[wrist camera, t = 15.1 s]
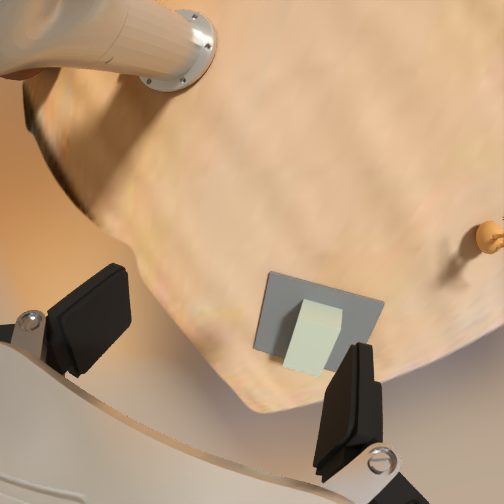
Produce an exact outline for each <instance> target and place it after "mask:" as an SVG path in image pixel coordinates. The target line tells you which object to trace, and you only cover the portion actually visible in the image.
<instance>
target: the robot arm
mask: <svg viewBox="0 0 504 504" xmlns="http://www.w3.org/2000/svg"><path fill="white" fill-rule="evenodd" d="M216 47H217V36H216V31H215V28H214V26H213V24H212V23H211V22H210V20H209V19H208V18H206V17H205V16H204V15H202V14H201V13H199V12H196V11H193V10H185V9H182V10H175V11H173V10H171V9H169V8H168V7H166V6H164V5H162V4H160V3H158V2H156V1H154V0H0V76H1V75H5V74H8V73H12V72H16V71H20V70H25V69H32V68H41V67H65V68H78V69H89V70H98V71H107V72H115V73H122V74H128V75H134V76H139V78H140V80H141V81H142V82H143V83H144V84H145V85H146V86H147V87H149V88H151V89H153V90H156V91H162V92H173V91H178V90H181V89H183V88H186V87H188V86H189V85H191V84H193V83H194V82H195V81H196V80H198V79H199V78H200V77H201V76H202V75H203V74H204V73H205V71H206V70H207V69H208V67H209V66H210V64H211V62H212V60H213V58H214V55H215V52H216ZM209 48H210V49H209ZM185 80H186V81H185ZM47 313H48V316H46V317H45V315H44V314H43V313H42V312H41V311H38V310H30V311H27V312H24V313H23V314H21V315H20V316H19V317H18V319H17V321H16V324H8V325H0V504H429V502H428V501H427V500H426V499H425V498H424V497H423V496H422V495H421V494H420V493H419V492H418V491H417V490H416V489H415V488H414V487H413V486H412V485H411V484H410V483H409V481H407V480H406V478H405V477H404V476H403V475H402V474H401V473H400V472H399V470H400V467H401V457H400V455H399V453H398V451H397V450H396V449H395V448H394V447H392V446H391V445H389V444H386V443H383V414H382V387H381V383H380V382H376V381H374V365H373V348H372V345H369V344H365V343H361V342H357V343H356V345H353V344H352V345H351V346H350V347H349V349H348V351H347V353H346V355H345V357H344V359H343V360H342V362H341V364H340V366H339V368H338V369H337V371H336V373H335V375H334V377H333V378H332V380H331V382H330V383H329V385H328V387H327V389H326V392H325V396H324V403H323V410H322V417H321V422H320V429H319V435H318V440H317V445H316V451H315V456H314V461H313V467H316V468H317V470H316V475H321V476H322V483H323V484H322V485H321V486H316V485H312V484H310V483H306V482H302V481H298V480H294V479H290V478H287V477H283V476H279V475H275V474H272V473H268V472H264V471H261V470H257V469H254V468H250V467H248V466H244V465H241V464H238V463H235V462H232V461H229V460H226V459H223V458H220V457H217V456H215V455H212V454H209V453H206V452H204V451H201V450H199V449H196V448H194V447H191V446H188V445H186V444H184V443H182V442H179V441H177V440H175V439H173V438H170V437H168V436H166V435H164V434H161V433H159V432H157V431H155V430H153V429H151V428H149V427H147V426H145V425H143V424H141V423H139V422H137V421H135V420H133V419H131V418H130V417H128V416H126V415H124V414H122V413H121V412H119V411H117V410H115V409H114V408H112V407H110V406H108V405H106V404H105V403H103V402H102V401H100V400H98V399H97V398H95V397H94V396H92V395H90V394H88V393H87V392H86V391H84V390H83V389H81V388H79V387H78V386H77V385H75V384H74V383H72V382H71V381H69V380H68V379H66V378H65V373H66V372H67V371H68V372H69V373H70V374H72V375H73V376H75V377H77V378H78V377H79V376H80V375H81V374H85V373H86V372H87V371H88V370H89V369H90V368H91V367H92V365H93V364H94V363H95V362H96V361H97V360H98V358H100V357H101V356H102V354H104V353H105V351H106V350H107V349H108V348H109V347H110V346H111V345H112V344H113V343H114V342H115V341H116V340H117V339H118V338H119V337H120V336H121V335H122V333H123V332H124V331H125V330H126V329H127V328H128V327H129V326H130V324H131V309H130V299H129V286H128V273H127V272H126V270H125V268H124V267H123V266H120V265H118V264H115V263H111V264H109V265H108V266H106V267H105V268H104V269H102V270H101V271H100V272H98V273H97V274H95V275H94V276H93V277H91V278H90V279H88V280H87V281H86V282H84V283H83V284H82V285H80V286H79V287H78V288H76V289H75V290H74V291H72V292H71V293H70V294H68V295H67V296H66V297H65V298H63V299H62V300H61V301H59V302H58V303H57V304H56V305H54V306H53V307H52V308H50V309H49V310H48V311H47Z"/></svg>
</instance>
